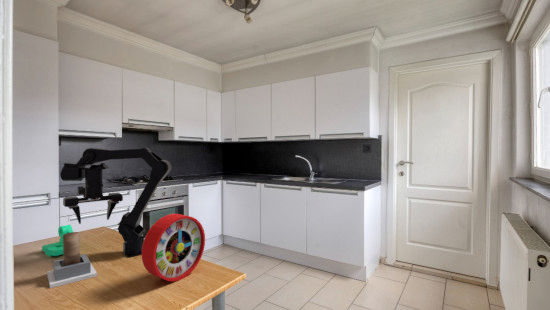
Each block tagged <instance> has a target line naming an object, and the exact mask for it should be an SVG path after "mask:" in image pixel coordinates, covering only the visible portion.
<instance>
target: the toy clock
mask: <svg viewBox="0 0 550 310" xmlns="http://www.w3.org/2000/svg"><path fill="white" fill-rule="evenodd" d="M205 245H206V234H205V230H204V227H203V225H202V224H201V222H200V221H199V220H198V219H197V218H195V217H193V216H189V215H184V214H180V213H169V214H166V215H165V216H162V217H160V218H159V219H158V220H156V221H155V222H154V223H153V225H151V226H150V228H149V230H148V231H147V233H146V235H145V236H144V242H143V246H142V254H141V261H142V264H143V267H144V269H145V270H146V271H147V272H148V273H149V274H150V275H152V276H155V277H157V278H159V279H162V280H164V281H168V282H177V281H181V280H182V279H185V278H186V277H188V276H189V275H190V274H191V273H193V272H194V270H195V268H197V266H198V265H199V263H200V261H201V259H202V256H203V254H204V250H205Z"/></svg>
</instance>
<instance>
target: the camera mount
mask: <svg viewBox="0 0 550 310" xmlns="http://www.w3.org/2000/svg"><path fill="white" fill-rule="evenodd" d="M71 232H74V229H73V226H72V225H71V224H66V225H60V226H59V227H58V229H57V233H58V236H59V241H55V242H53V243H49V244H48V243H47V244H45V245H42V246H41V250H42V252H44V255H46V256H48V257H50V256H51V257H58V256H60V255H63V235H64V234H66V233H71Z"/></svg>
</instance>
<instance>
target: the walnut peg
mask: <svg viewBox="0 0 550 310" xmlns="http://www.w3.org/2000/svg"><path fill="white" fill-rule="evenodd" d="M80 235H81V232H78V231H73V232H71V233H66V234H64V235H63V254H62V257H63V258H62V259H63V267H64V266H68V265H73V264H77V263H80V255H81V238H80V237H81V236H80Z"/></svg>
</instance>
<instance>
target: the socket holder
mask: <svg viewBox="0 0 550 310" xmlns="http://www.w3.org/2000/svg"><path fill="white" fill-rule="evenodd" d="M46 276H47V281H48V285H49V288H50V289H51V288H56V287H61V286H64V285H68V284H72V283H76V282H79V281H83V280H88V279H92V278H94V277H98V273H97V270H96V269H95V268H94V266H93V264H92V262H91V261H90V259H89V257H88V256H87V254H86V253H85V254H80V263H77V264H73V265H68V266H64V267H63V258H62V259H57V260H56V259H55V260H52V270H48V271H46Z"/></svg>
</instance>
